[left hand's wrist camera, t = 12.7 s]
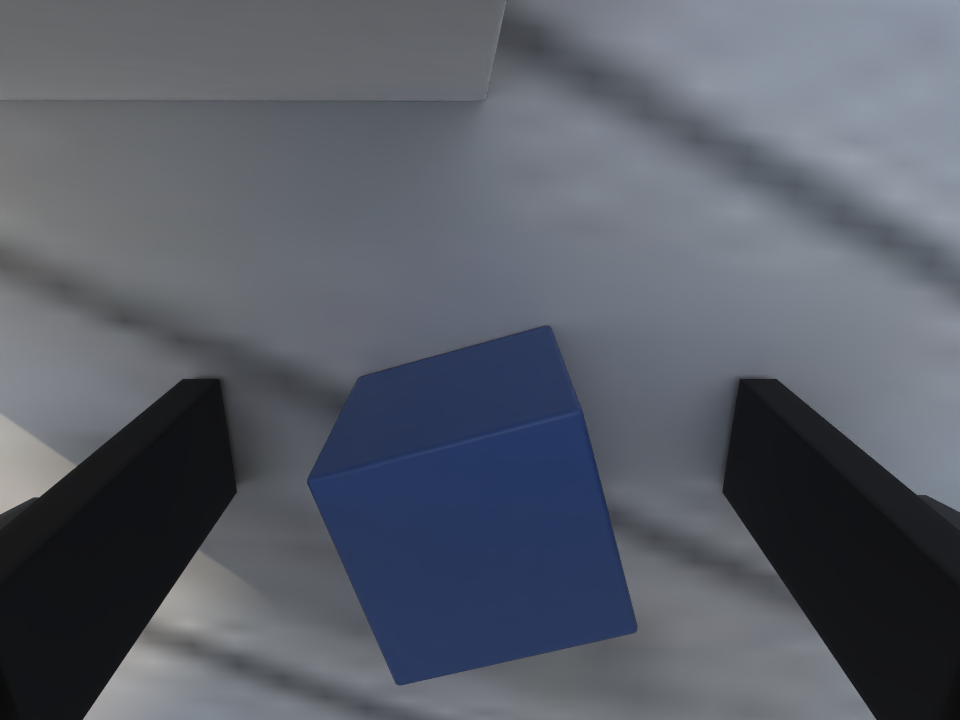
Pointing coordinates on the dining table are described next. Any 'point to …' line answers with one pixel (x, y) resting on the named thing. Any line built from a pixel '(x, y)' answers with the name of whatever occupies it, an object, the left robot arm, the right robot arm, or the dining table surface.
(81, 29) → the chest
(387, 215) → the dining table surface
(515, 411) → the block
